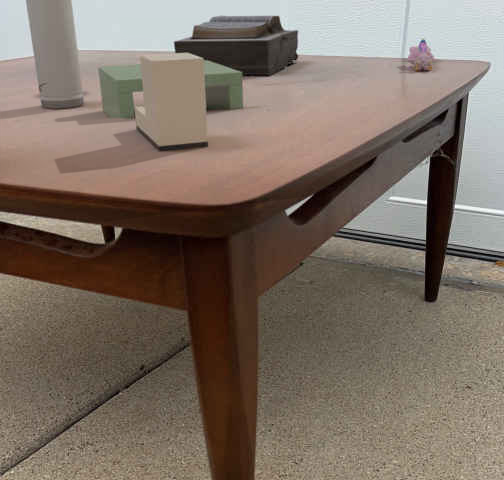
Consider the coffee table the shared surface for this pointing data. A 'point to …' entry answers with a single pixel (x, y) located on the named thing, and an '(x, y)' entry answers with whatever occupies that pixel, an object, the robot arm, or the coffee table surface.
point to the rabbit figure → (421, 56)
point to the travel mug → (55, 53)
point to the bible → (243, 43)
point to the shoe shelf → (130, 80)
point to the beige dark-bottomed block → (173, 101)
